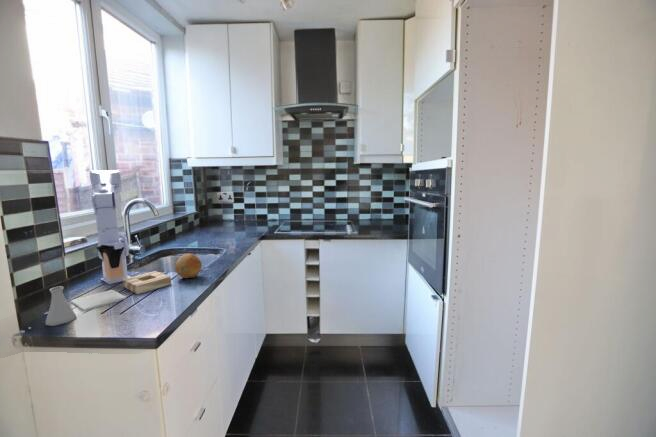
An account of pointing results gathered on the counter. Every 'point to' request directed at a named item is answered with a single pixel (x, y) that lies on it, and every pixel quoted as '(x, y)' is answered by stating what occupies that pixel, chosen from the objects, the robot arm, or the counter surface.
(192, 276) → the onion
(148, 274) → the pocket block
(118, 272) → the peg
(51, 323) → the flask
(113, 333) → the counter surface
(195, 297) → the counter surface
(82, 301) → the mat
